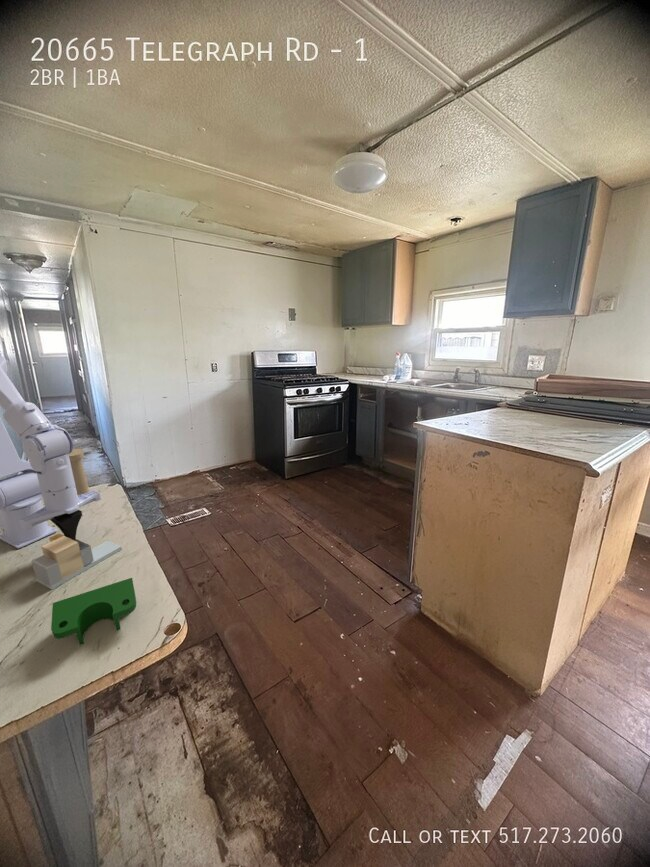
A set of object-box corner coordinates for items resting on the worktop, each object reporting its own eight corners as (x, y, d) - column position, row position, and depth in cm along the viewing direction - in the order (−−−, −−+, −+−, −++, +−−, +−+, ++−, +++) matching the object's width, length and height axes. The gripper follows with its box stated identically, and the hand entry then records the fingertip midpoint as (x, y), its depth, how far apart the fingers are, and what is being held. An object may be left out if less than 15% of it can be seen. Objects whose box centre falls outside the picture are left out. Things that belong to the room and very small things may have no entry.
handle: (73, 508, 94) (61, 457, 90) (72, 499, 99) (61, 451, 94) (93, 503, 97) (83, 454, 92) (92, 494, 102) (82, 447, 97)
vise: (37, 581, 66) (31, 560, 65) (107, 543, 79) (104, 525, 77) (51, 589, 64) (46, 568, 63) (121, 549, 76) (118, 531, 75)
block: (48, 571, 68) (41, 546, 66) (69, 560, 71) (63, 535, 70) (62, 579, 66) (55, 553, 64) (83, 567, 69) (78, 542, 68)
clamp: (79, 663, 55) (37, 644, 49) (79, 630, 59) (40, 609, 53) (151, 616, 58) (120, 594, 53) (146, 589, 63) (117, 565, 57)
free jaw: (53, 553, 74) (48, 536, 73) (63, 548, 76) (58, 531, 75) (84, 569, 69) (80, 550, 68) (94, 563, 71) (90, 545, 70)
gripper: (27, 505, 63) (43, 566, 67) (104, 477, 76) (114, 530, 80) (7, 497, 66) (24, 556, 70) (85, 471, 79) (96, 522, 83)
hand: (71, 541), depth 75 cm, fingers closed
